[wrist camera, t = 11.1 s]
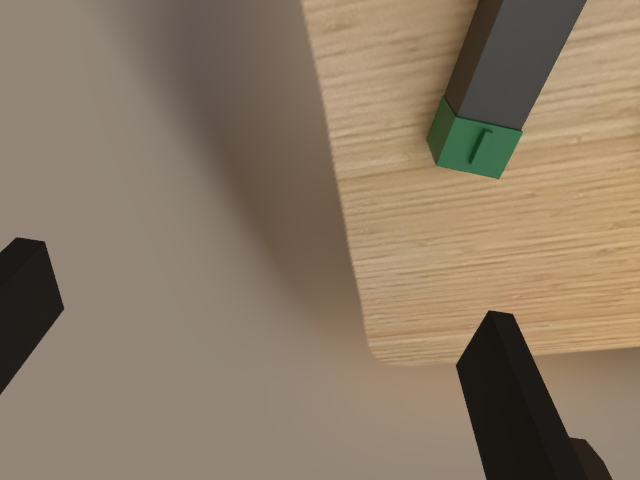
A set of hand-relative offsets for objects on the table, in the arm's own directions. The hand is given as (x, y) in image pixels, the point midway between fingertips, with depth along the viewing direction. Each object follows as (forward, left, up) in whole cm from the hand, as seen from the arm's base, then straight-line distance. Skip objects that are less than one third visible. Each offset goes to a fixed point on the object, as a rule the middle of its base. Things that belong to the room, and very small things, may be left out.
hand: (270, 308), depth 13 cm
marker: (+11, +6, -22) cm, 25 cm away
